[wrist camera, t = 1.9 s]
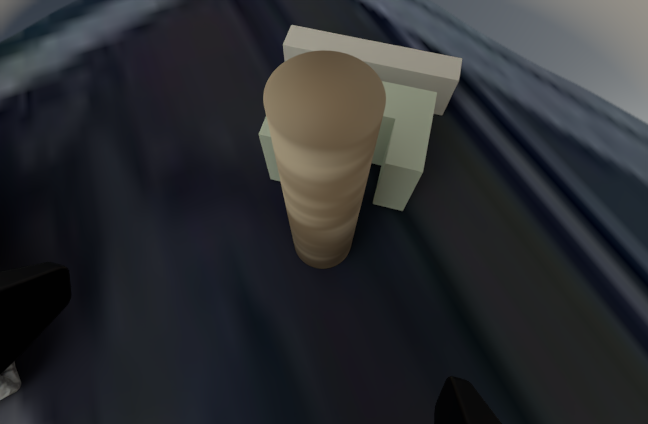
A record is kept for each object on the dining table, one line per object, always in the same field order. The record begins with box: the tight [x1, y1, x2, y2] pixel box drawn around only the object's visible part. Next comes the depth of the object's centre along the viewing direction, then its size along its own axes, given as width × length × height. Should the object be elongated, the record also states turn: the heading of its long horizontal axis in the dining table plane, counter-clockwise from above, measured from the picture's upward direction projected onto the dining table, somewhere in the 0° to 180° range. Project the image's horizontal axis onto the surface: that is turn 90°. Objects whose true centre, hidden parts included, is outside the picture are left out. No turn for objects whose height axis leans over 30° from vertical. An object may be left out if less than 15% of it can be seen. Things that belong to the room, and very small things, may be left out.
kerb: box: [283, 25, 462, 115], centre depth 26 cm, size 2×12×4 cm, turn 75°
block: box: [259, 81, 437, 211], centre depth 22 cm, size 6×9×5 cm, turn 75°
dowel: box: [263, 50, 386, 269], centre depth 16 cm, size 4×4×13 cm
